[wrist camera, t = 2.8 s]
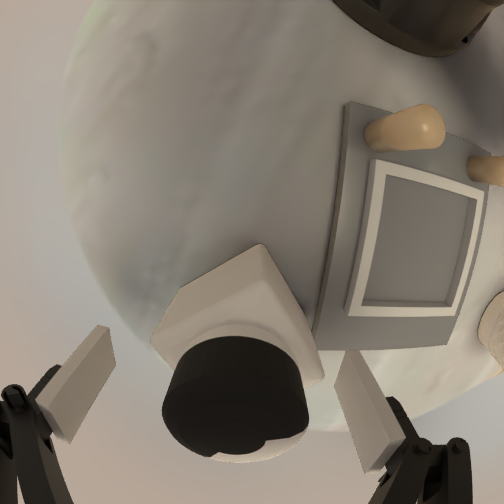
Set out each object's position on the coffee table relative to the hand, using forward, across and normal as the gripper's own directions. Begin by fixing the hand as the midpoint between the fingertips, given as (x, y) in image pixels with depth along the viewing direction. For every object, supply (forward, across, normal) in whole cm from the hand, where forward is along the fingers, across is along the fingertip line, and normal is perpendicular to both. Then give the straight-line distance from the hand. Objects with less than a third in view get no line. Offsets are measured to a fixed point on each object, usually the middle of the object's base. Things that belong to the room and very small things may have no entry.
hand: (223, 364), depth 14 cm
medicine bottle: (+7, +1, 0) cm, 7 cm away
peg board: (+7, +13, +6) cm, 16 cm away
